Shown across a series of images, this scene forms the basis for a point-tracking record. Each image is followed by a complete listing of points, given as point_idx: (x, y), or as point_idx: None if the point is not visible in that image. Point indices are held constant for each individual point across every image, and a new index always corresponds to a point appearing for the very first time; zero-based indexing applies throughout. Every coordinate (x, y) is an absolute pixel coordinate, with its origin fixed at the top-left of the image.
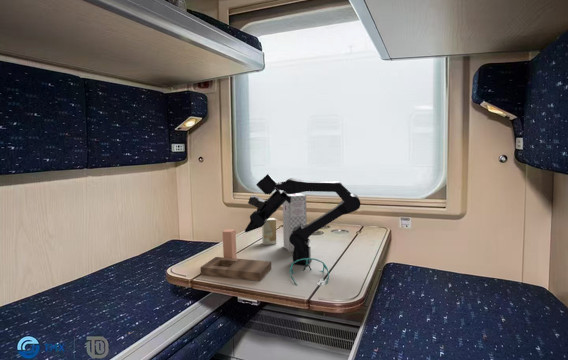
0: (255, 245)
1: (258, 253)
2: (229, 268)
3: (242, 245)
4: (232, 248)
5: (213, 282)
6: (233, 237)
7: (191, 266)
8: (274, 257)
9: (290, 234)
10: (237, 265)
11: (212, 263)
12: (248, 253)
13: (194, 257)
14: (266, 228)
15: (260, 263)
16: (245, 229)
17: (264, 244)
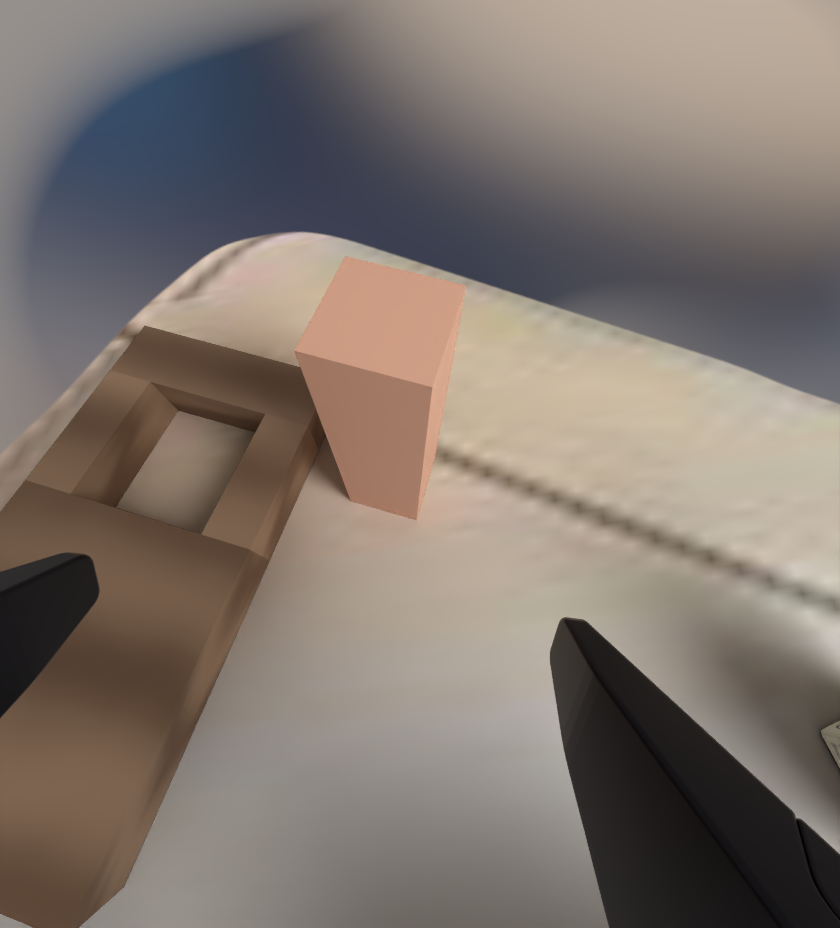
0: (781, 635)
1: None
2: (39, 503)
3: (747, 520)
4: (344, 460)
5: (22, 440)
6: (364, 419)
7: (319, 296)
8: (458, 899)
9: None
10: None
11: (194, 377)
12: (558, 595)
13: (463, 284)
14: None
15: (51, 790)
16: (11, 572)
17: (825, 734)
